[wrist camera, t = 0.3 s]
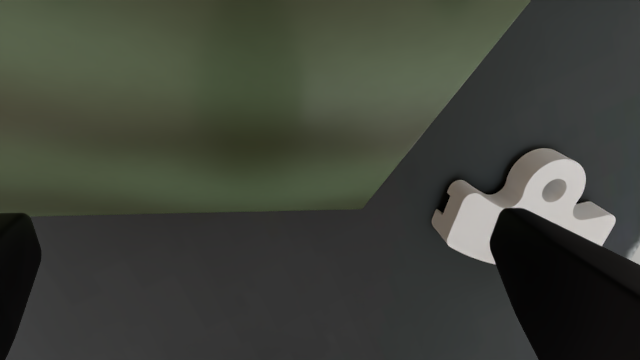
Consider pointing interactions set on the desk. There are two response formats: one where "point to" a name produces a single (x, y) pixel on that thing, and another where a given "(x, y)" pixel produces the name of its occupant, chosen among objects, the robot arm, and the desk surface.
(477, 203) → the joystick
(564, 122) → the desk surface
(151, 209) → the lid
